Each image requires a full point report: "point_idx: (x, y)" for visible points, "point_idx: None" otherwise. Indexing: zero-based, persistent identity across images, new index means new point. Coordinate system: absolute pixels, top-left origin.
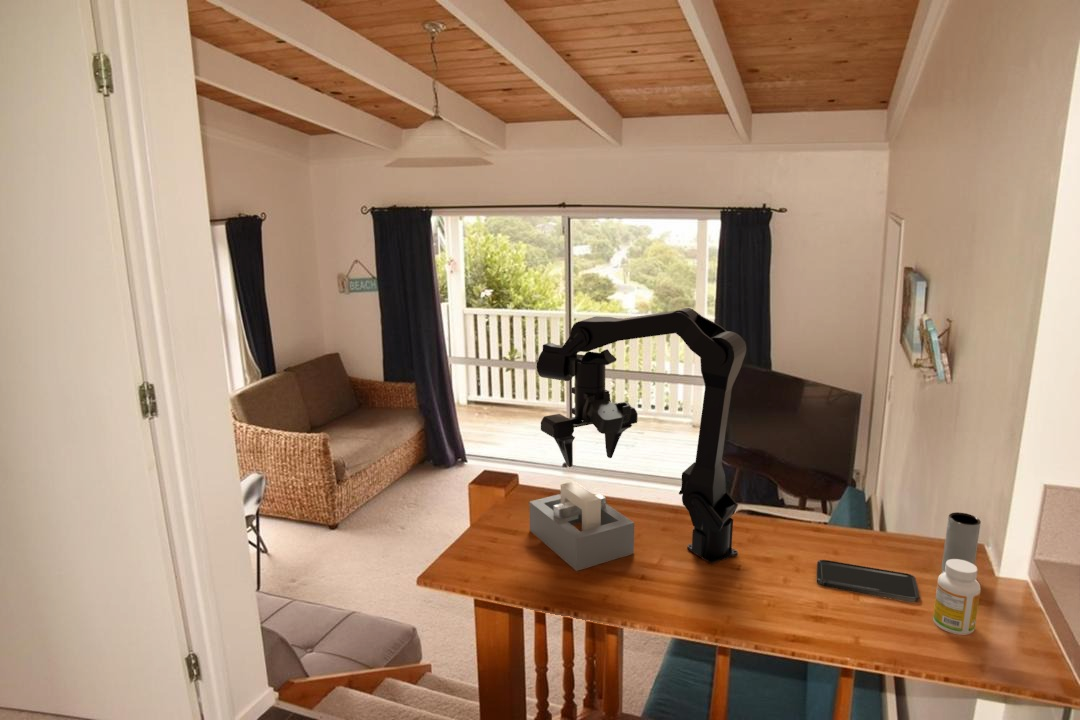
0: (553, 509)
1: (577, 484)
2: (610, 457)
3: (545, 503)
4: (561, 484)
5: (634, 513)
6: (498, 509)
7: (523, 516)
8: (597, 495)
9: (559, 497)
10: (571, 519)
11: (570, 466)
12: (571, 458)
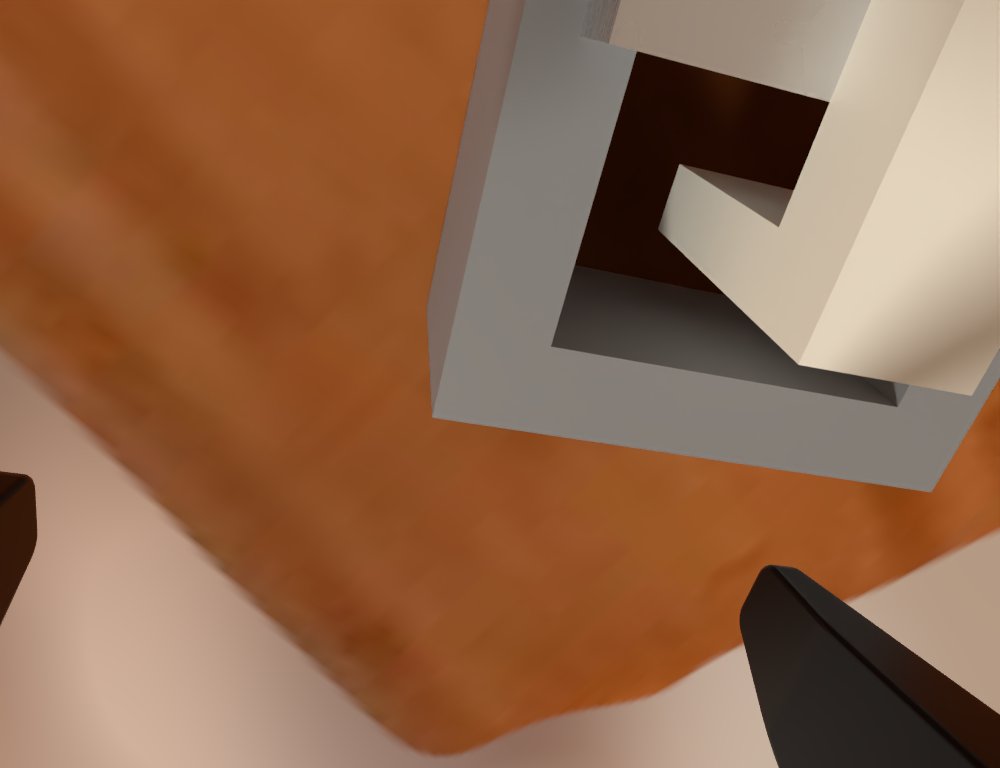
0: (775, 356)
1: (859, 268)
2: (20, 477)
3: (878, 401)
4: (968, 389)
5: (37, 72)
6: (715, 644)
7: (692, 522)
8: (670, 29)
9: (730, 407)
10: (746, 180)
11: (788, 569)
12: (872, 654)
